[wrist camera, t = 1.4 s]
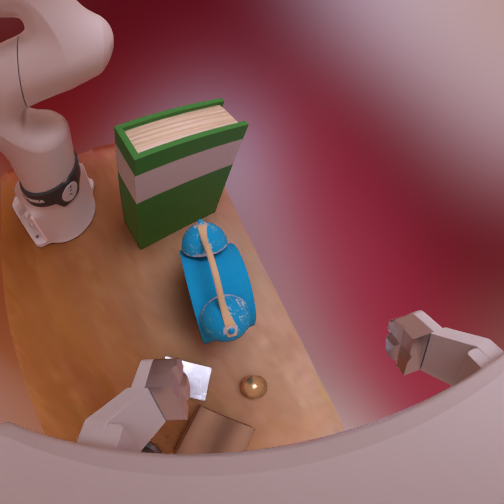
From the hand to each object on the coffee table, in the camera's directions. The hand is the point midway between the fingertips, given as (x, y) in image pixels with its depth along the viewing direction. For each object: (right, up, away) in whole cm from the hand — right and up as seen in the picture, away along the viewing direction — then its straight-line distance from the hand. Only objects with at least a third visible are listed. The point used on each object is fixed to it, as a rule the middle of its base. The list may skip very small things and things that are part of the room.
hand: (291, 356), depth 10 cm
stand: (-8, -28, +28) cm, 41 cm away
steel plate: (-13, -18, +32) cm, 39 cm away
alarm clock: (-10, -6, +39) cm, 41 cm away
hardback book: (-18, +11, +44) cm, 49 cm away
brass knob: (-2, -20, +35) cm, 40 cm away
